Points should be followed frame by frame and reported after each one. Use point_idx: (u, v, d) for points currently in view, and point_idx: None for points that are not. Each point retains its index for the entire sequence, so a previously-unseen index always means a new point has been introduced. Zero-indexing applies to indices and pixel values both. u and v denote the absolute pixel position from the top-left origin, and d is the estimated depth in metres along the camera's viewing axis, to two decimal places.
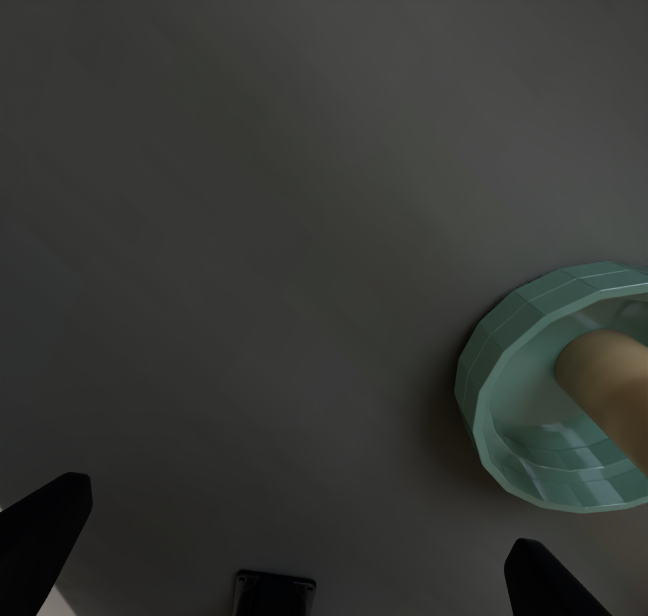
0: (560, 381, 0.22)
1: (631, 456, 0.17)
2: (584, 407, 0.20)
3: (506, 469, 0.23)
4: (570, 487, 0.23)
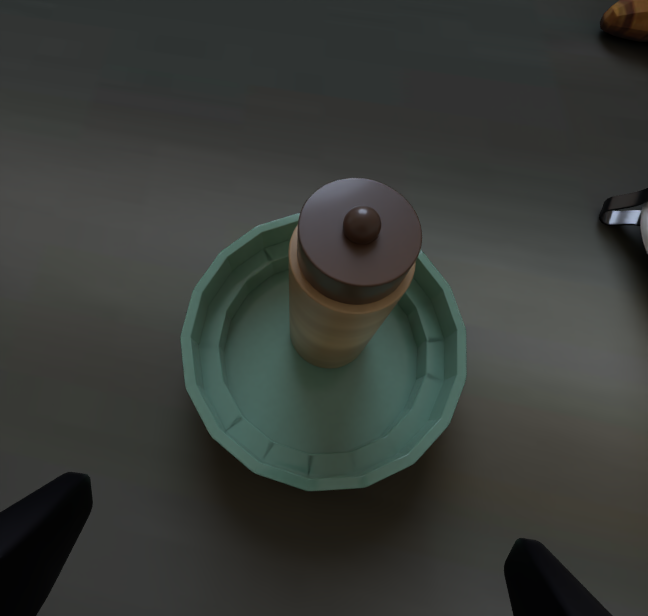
0: (305, 358, 0.21)
1: (313, 329, 0.16)
2: (309, 349, 0.19)
3: (315, 476, 0.18)
4: (399, 452, 0.18)
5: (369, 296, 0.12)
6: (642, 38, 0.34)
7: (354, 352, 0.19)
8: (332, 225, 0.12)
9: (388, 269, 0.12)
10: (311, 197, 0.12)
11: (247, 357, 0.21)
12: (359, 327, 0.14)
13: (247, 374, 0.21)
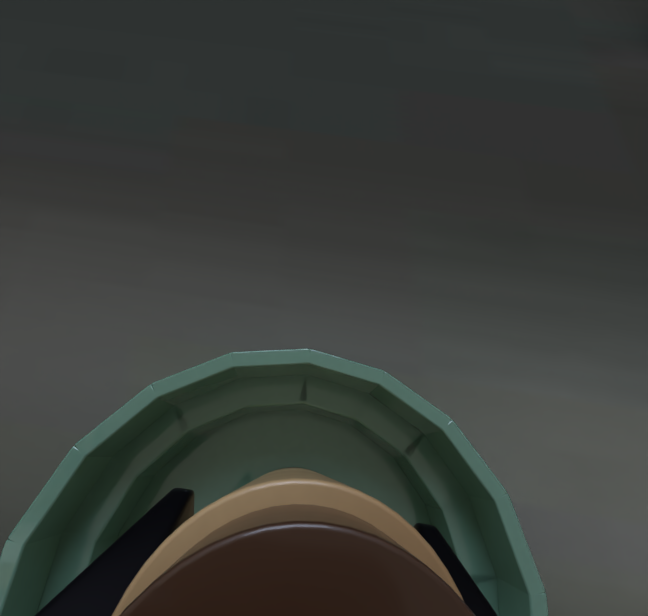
0: None
1: None
2: None
3: None
4: None
5: None
6: None
7: None
8: None
9: None
10: None
11: None
12: None
13: None
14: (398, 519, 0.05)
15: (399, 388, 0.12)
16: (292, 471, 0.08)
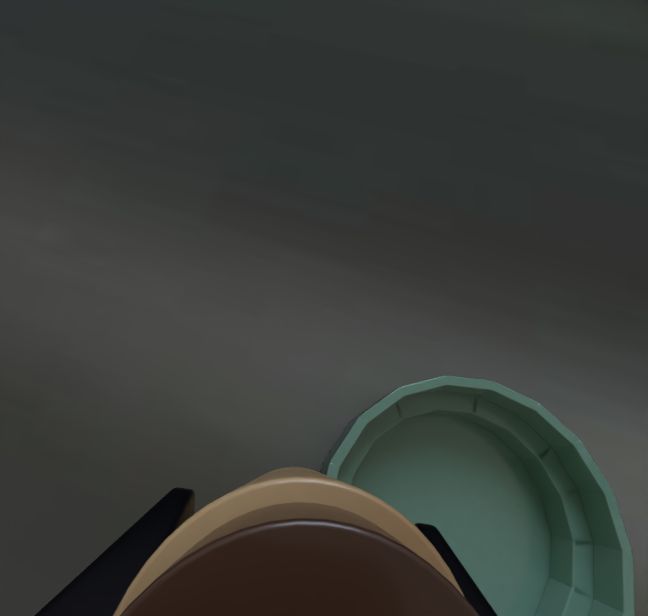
0: None
1: None
2: None
3: None
4: None
5: None
6: None
7: None
8: None
9: None
10: None
11: None
12: None
13: None
14: (400, 517, 0.05)
15: (548, 415, 0.19)
16: (293, 470, 0.08)
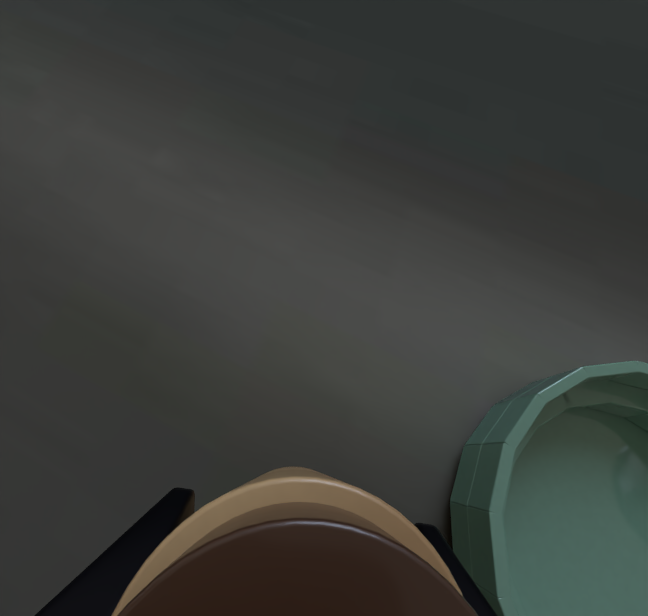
0: None
1: None
2: None
3: None
4: None
5: None
6: None
7: None
8: None
9: None
10: None
11: (512, 524, 0.16)
12: None
13: (511, 550, 0.16)
14: (399, 517, 0.05)
15: None
16: (292, 470, 0.08)
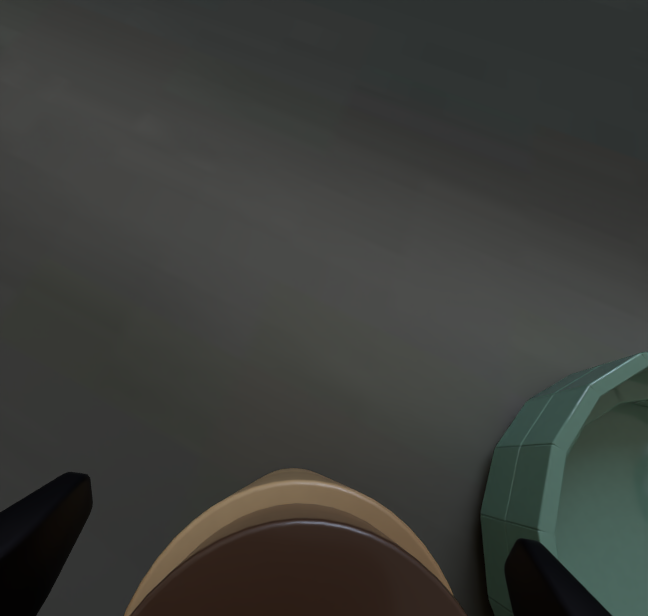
0: None
1: None
2: None
3: None
4: None
5: None
6: None
7: None
8: None
9: None
10: None
11: None
12: None
13: None
14: (392, 517, 0.05)
15: None
16: (293, 472, 0.09)
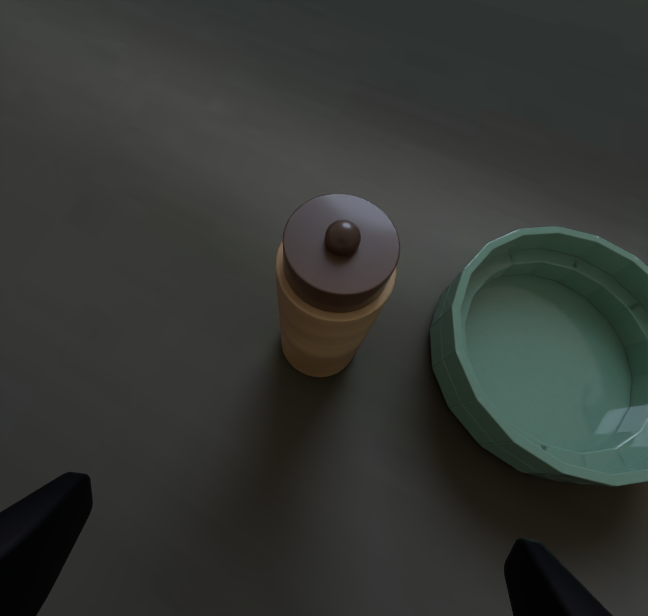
0: (297, 367, 0.22)
1: (301, 338, 0.16)
2: (299, 358, 0.19)
3: None
4: (631, 466, 0.19)
5: (352, 304, 0.13)
6: None
7: (343, 360, 0.19)
8: (315, 238, 0.13)
9: (368, 279, 0.12)
10: (295, 212, 0.13)
11: (473, 343, 0.23)
12: (345, 335, 0.15)
13: (472, 358, 0.23)
14: None
15: (644, 266, 0.22)
16: None
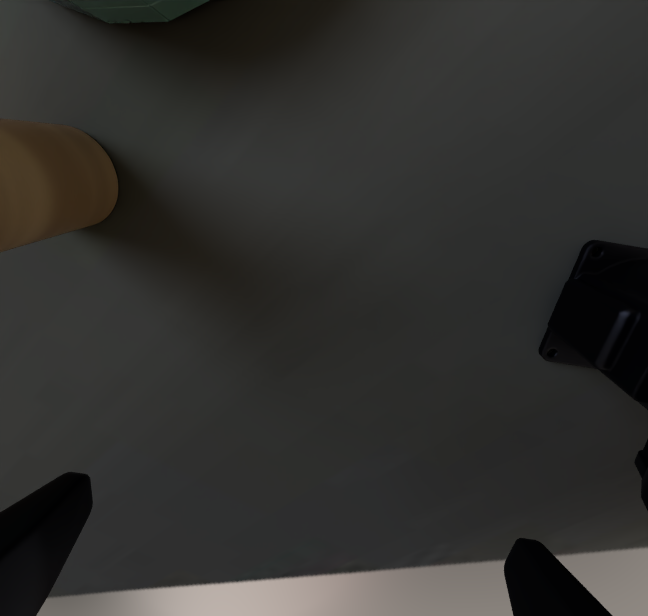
0: (101, 217, 0.18)
1: (5, 242, 0.13)
2: (71, 224, 0.16)
3: None
4: None
5: None
6: None
7: (72, 171, 0.15)
8: None
9: None
10: None
11: None
12: None
13: None
14: None
15: None
16: None
